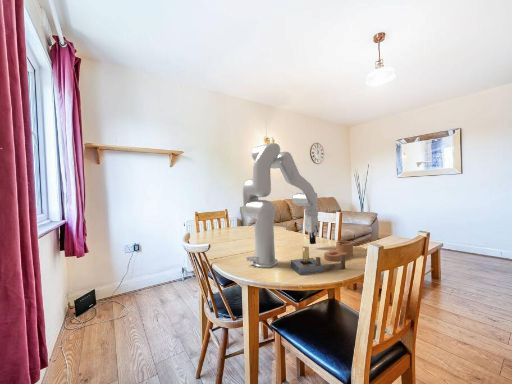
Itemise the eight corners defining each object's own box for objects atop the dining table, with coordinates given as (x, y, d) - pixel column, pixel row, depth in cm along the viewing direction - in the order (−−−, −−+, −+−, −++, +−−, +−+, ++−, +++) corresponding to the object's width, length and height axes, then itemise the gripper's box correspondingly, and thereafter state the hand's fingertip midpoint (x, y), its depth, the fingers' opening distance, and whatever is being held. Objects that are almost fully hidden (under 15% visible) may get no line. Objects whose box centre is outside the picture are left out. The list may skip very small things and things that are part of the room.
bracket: (343, 252, 130) (342, 239, 130) (356, 255, 123) (356, 242, 123) (320, 258, 120) (320, 245, 120) (334, 263, 113) (333, 248, 113)
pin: (304, 270, 105) (303, 248, 104) (302, 268, 107) (301, 246, 107) (310, 269, 105) (309, 247, 105) (308, 267, 108) (307, 246, 108)
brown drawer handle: (317, 272, 102) (316, 258, 102) (315, 270, 104) (314, 257, 104) (346, 268, 104) (346, 255, 104) (343, 267, 106) (343, 254, 106)
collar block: (299, 274, 100) (299, 268, 100) (290, 266, 110) (290, 260, 110) (323, 272, 102) (323, 265, 102) (312, 263, 113) (312, 257, 112)
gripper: (300, 212, 145) (301, 241, 145) (310, 215, 130) (312, 247, 131) (311, 211, 146) (313, 240, 147) (323, 214, 132) (324, 246, 132)
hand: (312, 243), depth 139 cm, fingers closed
